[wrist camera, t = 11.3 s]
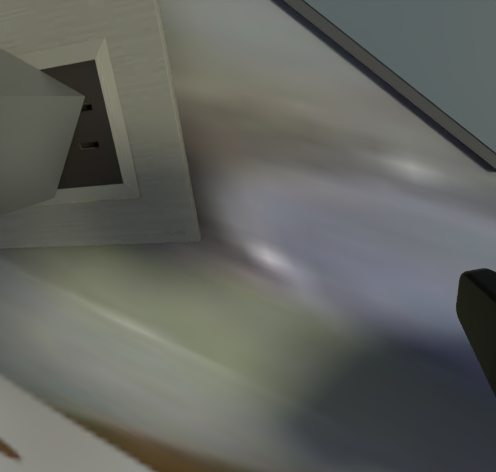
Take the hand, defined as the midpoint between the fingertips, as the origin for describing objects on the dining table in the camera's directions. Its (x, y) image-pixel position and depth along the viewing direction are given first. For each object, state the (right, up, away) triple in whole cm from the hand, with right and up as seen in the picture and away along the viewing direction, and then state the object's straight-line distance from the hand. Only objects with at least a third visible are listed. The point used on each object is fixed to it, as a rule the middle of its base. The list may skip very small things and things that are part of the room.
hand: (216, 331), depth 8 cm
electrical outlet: (-8, +7, +13) cm, 16 cm away
